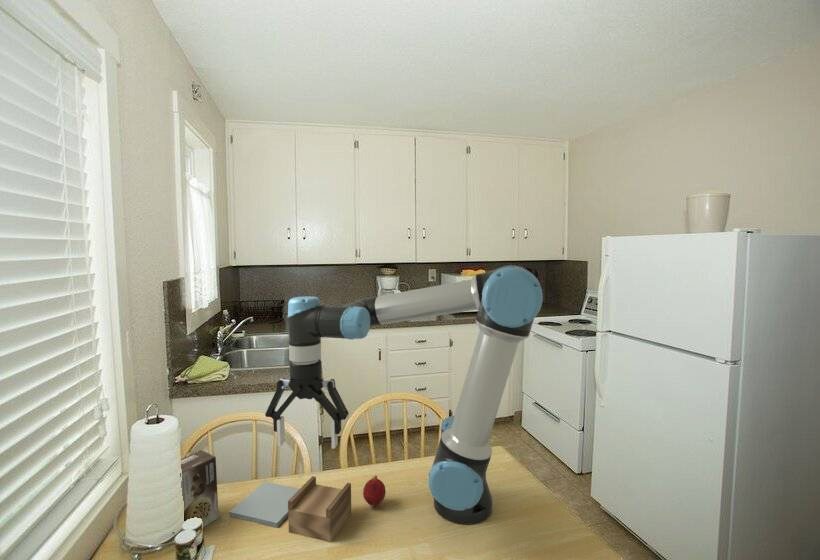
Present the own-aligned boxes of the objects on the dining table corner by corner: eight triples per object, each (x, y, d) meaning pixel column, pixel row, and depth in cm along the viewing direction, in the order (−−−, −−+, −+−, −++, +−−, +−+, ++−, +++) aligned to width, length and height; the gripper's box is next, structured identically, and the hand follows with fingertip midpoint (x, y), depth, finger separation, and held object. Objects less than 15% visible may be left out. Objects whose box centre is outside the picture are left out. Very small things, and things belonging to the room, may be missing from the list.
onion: (382, 514, 104) (382, 483, 103) (360, 511, 105) (360, 481, 104) (387, 500, 110) (387, 471, 109) (367, 497, 111) (367, 469, 110)
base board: (308, 494, 112) (308, 490, 112) (277, 527, 99) (277, 523, 99) (264, 485, 116) (264, 481, 116) (229, 516, 103) (229, 511, 103)
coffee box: (203, 509, 105) (201, 449, 104) (219, 518, 102) (217, 455, 101) (167, 530, 98) (164, 465, 96) (183, 540, 94) (180, 473, 93)
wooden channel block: (351, 513, 104) (351, 483, 104) (330, 543, 94) (329, 509, 93) (313, 505, 108) (312, 476, 107) (288, 533, 97) (288, 501, 97)
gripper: (359, 357, 102) (360, 439, 104) (263, 355, 105) (266, 436, 106) (352, 365, 95) (353, 454, 96) (248, 363, 97) (252, 450, 99)
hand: (307, 445), depth 101 cm, fingers open, 13 cm apart
